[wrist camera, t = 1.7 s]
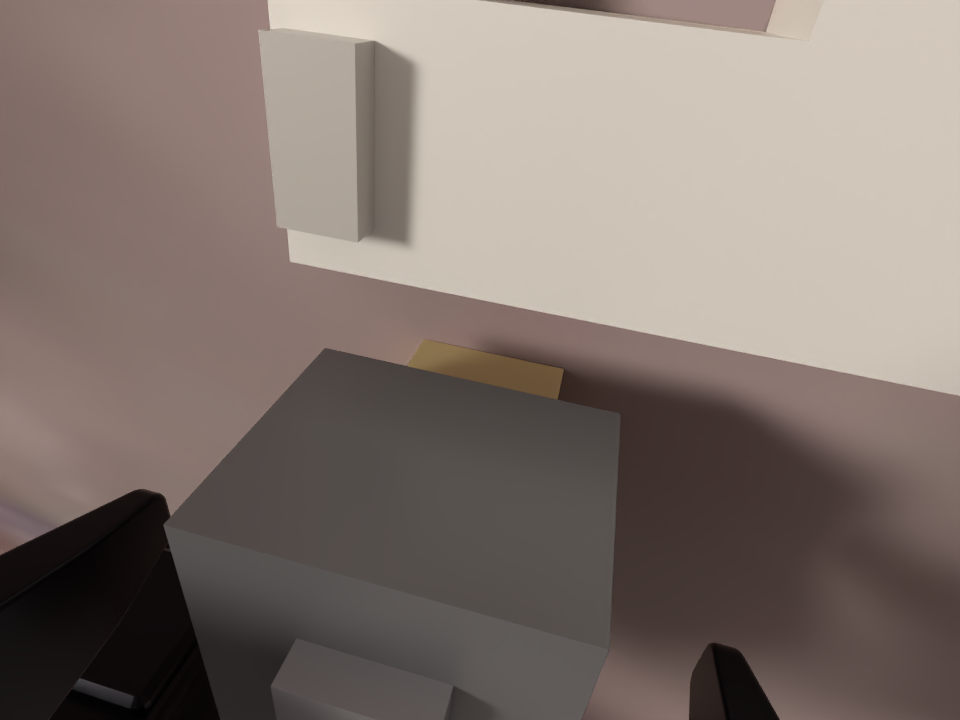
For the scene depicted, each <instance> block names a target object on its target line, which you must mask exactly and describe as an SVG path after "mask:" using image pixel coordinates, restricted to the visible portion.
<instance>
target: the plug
mask: <svg viewBox="0 0 960 720" xmlns="http://www.w3.org/2000/svg"><path fill="white" fill-rule="evenodd" d="M563 372H564V369H561V368H557V367H552V366H547V365H543V364H538V363H533V362H529V361H524V360H519V359H514V358H510V357H505V356H500V355H496V354H491V353H486V352H482V351H477V350H472V349H468V348H463V347H458V346H454V345H449V344H444V343H440V342H435V341H430V340H426V339H424V341H423V342H422V344H421V345H420V347H419V348H418V350H417V352H416V353H415V355H414V356H413V358H412V359H411V361H410V362H409V364H408V366H404V365H399V364H395V363H390V362H386V361H381V360H377V359H372V358H368V357H363V356H359V355H354V354H350V353H345V352H341V351H336V350H332V349H327V348H325V349H324V350H323V351H322V352H321V353H320V354H319V355H318V356H317V358H316V359H315V360H314V361H313V362H312V363H311V364H310V365H309V366H308V367H307V368H306V370H305V371H304V372H303V373H302V374H301V375H300V376H299V377H298V378H297V379H296V380H295V382H294V383H293V384H292V385H291V386H290V387H289V388H288V389H287V390H286V391H285V392H284V394H283V395H282V396H281V397H280V398H279V399H278V400H277V401H276V402H275V403H274V405H273V406H272V407H271V408H270V409H269V410H268V411H267V412H266V413H265V414H264V415H263V417H262V418H261V419H260V420H259V421H258V422H257V423H256V424H255V425H254V426H253V427H252V429H251V430H250V431H249V432H248V433H247V434H246V435H245V436H244V437H243V438H242V439H241V441H240V442H239V443H238V444H237V445H236V446H235V447H234V448H233V449H232V450H231V451H230V453H229V454H228V455H227V456H226V457H225V458H224V459H223V460H222V461H221V462H220V463H219V465H218V466H217V467H216V468H215V469H214V470H213V471H212V472H211V473H210V474H209V476H208V477H207V478H206V479H205V480H204V481H203V482H202V483H201V484H200V485H199V486H198V488H197V489H196V490H195V491H194V492H193V493H192V494H191V495H190V496H189V497H188V498H187V500H186V501H185V502H184V503H183V504H182V505H181V506H180V507H179V508H178V509H177V510H176V512H175V513H174V514H173V515H172V516H171V517H170V518H169V519H168V520H167V521H166V522H165V524H164V525H163V526H164V529H165V532H166V536H167V539H168V543H169V546H170V549H171V553H172V556H173V560H174V563H175V567H176V570H177V573H178V577H179V580H180V584H181V587H182V590H183V594H184V597H185V601H186V604H187V608H188V611H189V614H190V618H191V621H192V625H193V628H194V631H195V635H196V638H197V642H198V645H199V648H200V652H201V655H202V659H203V662H204V666H205V669H206V672H207V676H208V679H209V683H210V686H211V689H212V693H213V696H214V700H215V703H216V707H217V710H218V713H219V717H220V720H581V719H582V717H583V714H584V712H585V709H586V707H587V704H588V702H589V699H590V697H591V694H592V692H593V689H594V687H595V684H596V682H597V679H598V677H599V674H600V672H601V669H602V667H603V664H604V662H605V659H606V657H607V654H608V652H609V644H610V624H611V603H612V583H613V563H614V542H615V522H616V501H617V481H618V460H619V440H620V419H621V414H620V413H616V412H611V411H607V410H602V409H598V408H593V407H589V406H584V405H580V404H575V403H571V402H566V401H562V400H558V395H559V391H560V386H561V381H562V376H563Z"/></svg>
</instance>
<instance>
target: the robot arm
mask: <svg viewBox="0 0 960 720" xmlns="http://www.w3.org/2000/svg"><path fill="white" fill-rule="evenodd" d="M170 517H171V516H170V513H169V509H168V505H167V502H166V499H165V497H164V496H163V495H162V494H160V493H157V492H153V491H149V490H145V489H138V490H135V491H132V492H130V493H128V494H126V495H124V496H122V497H120V498H118V499H116V500H113V501H111V502H109V503H107V504H105V505H103V506H101V507H99V508H97V509H95V510H93V511H91V512H89V513H86V514H84V515H82V516H80V517H78V518H76V519H74V520H72V521H70V522H68V523H66V524H64V525H62V526H59V527H57V528H55V529H53V530H51V531H49V532H47V533H45V534H43V535H41V536H39V537H37V538H35V539H33V540H30V541H28V542H26V543H24V544H22V545H20V546H18V547H16V548H14V549H12V550H10V551H8V552H6V553H3V554H1V555H0V720H220V717H219V713H218V710H217V707H216V703H215V700H214V696H213V693H212V689H211V686H210V683H209V679H208V676H207V672H206V669H205V666H204V662H203V659H202V655H201V652H200V648H199V645H198V642H197V638H196V635H195V631H194V628H193V625H192V621H191V618H190V614H189V611H188V608H187V604H186V601H185V597H184V594H183V590H182V587H181V584H180V580H179V577H178V573H177V570H176V567H175V563H174V560H173V556H172V553H171V549H170V546H169V543H168V539H167V536H166V532H165V529H164V526H163V525H164V524H165V522H166V521H167V520H168V519H169V518H170ZM689 720H780V719H779V718H778V716H777V714H776V712H775V711H774V709H773V707H772V705H771V703H770V702H769V700H768V698H767V696H766V695H765V693H764V691H763V689H762V688H761V686H760V684H759V682H758V681H757V679H756V677H755V675H754V674H753V672H752V670H751V668H750V667H749V665H748V663H747V661H746V660H745V658H744V656H743V655H742V653H741V652H740V651H739V650H737V649H736V648H733V647H729V646H725V645H722V644H718V643H710V644H708V646H707V647H706V649H705V650H704V652H703V654H702V656H701V658H700V659H699V661H698V663H697V665H696V667H695V668H694V670H693V673H692V676H691V682H690V705H689Z"/></svg>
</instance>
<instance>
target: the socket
mask: <svg viewBox="0 0 960 720" xmlns="http://www.w3.org/2000/svg"><path fill="white" fill-rule="evenodd" d="M268 9H269V20H270V29H264V30H258V31H259V42H260V52H261V63H262V73H263V84H264V95H265V105H266V116H267V126H268V137H269V147H270V158H271V168H272V179H273V189H274V200H275V210H276V221H277V227H279V228H284V229H287V232H288V244H289V255H290V262H295V263H300V264H305V265H310V266H315V267H320V268H325V269H330V270H335V271H340V272H345V273H350V274H355V275H359V276H364V277H369V278H374V279H379V280H384V281H389V282H394V283H399V284H404V285H409V286H414V287H419V288H424V289H429V290H434V291H439V292H444V293H449V294H454V295H459V296H464V297H469V298H474V299H479V300H484V301H489V302H494V303H499V304H504V305H509V306H514V307H519V308H524V309H529V310H534V311H539V312H544V313H549V314H554V315H559V316H564V317H569V318H574V319H579V320H584V321H589V322H594V323H599V324H604V325H609V326H614V327H619V328H624V329H629V330H634V331H639V332H644V333H649V334H654V335H659V336H664V337H669V338H674V339H679V340H684V341H689V342H694V343H699V344H704V345H709V346H714V347H719V348H724V349H729V350H734V351H739V352H744V353H749V354H754V355H759V356H764V357H769V358H774V359H779V360H784V361H789V362H794V363H799V364H804V365H809V366H814V367H819V368H824V369H829V370H834V371H839V372H844V373H849V374H854V375H859V376H864V377H869V378H874V379H879V380H884V381H889V382H894V383H899V384H904V385H909V386H914V387H919V388H924V389H929V390H934V391H939V392H944V393H949V394H954V395H958V396H960V0H776V2H775V5H774V8H773V12H772V15H771V18H770V21H769V24H768V27H767V30H766V32H764V31H756V30H747V29H739V28H731V27H723V26H715V25H707V24H699V23H691V22H683V21H675V20H667V19H659V18H651V17H643V16H635V15H627V14H619V13H611V12H603V11H595V10H586V9H578V8H570V7H562V6H554V5H546V4H538V3H530V2H522V1H514V0H268Z"/></svg>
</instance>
